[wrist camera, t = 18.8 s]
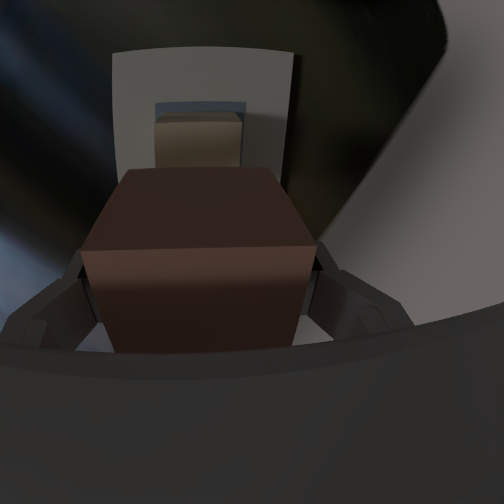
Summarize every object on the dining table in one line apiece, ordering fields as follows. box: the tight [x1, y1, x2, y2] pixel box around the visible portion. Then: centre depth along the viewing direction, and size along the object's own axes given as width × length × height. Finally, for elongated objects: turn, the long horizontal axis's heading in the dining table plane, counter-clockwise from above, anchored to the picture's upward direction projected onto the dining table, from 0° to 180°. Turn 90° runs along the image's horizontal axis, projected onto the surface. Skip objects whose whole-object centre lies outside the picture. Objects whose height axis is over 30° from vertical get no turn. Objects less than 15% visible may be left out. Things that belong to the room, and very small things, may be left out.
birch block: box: [154, 111, 242, 168], centre depth 20 cm, size 6×6×5 cm
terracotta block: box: [80, 167, 317, 353], centre depth 9 cm, size 5×5×5 cm
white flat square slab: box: [112, 47, 294, 183], centre depth 23 cm, size 16×14×1 cm
